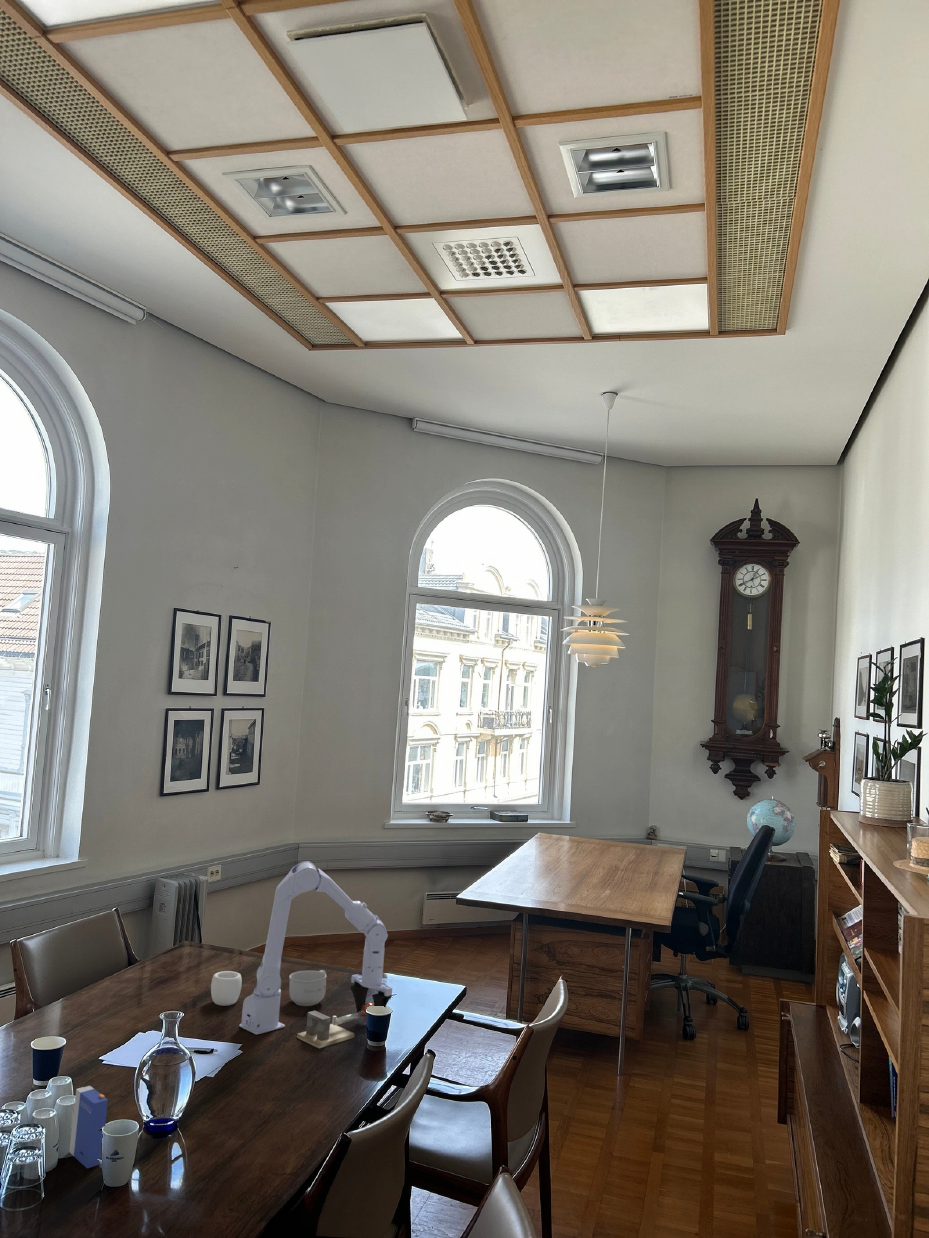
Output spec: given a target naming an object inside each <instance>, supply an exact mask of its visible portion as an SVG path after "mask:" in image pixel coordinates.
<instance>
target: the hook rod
mask: <svg viewBox="0 0 929 1238" xmlns="http://www.w3.org/2000/svg"><path fill="white" fill-rule="evenodd" d="M369 1006H374V1002H367V1003H365V1004H364V1005H363V1006H362V1008H361V1011H360V1012H357V1011H356V1012H353V1013H349V1014H346V1015H343V1016H339V1017H338V1016H337V1015H332V1019H331V1024H333V1025H337V1026H338V1025H341V1024H344V1023H347V1022H352V1021H355V1020H358V1019H361V1018H362V1020H363V1021H364V1022H366V1009H367V1007H369Z"/></svg>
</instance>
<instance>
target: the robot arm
mask: <svg viewBox="0 0 929 1238" xmlns="http://www.w3.org/2000/svg"><path fill="white" fill-rule="evenodd" d="M313 890H315V892H318V893H326V894H327V895H328V896H329V897H330V898H331V899H332V900H334V902H336V903H337V904H338V905H339V907H341V908H342V909H343V910H344V917H345V918H346V919H347V921H349V922H350V923H351V924H352V925H353V926H354V928H356V929H357V930H358V931H359V932H360V933H363V934H364V936H365V938H364V939H365V941H364V948H363V957H362V968H361V970H362V971H361V974H358V973H357V974H352V975H351V980H350V983H351V984H352V983H353V985H350V990H351V994H352V995H353V998H354V1002H355V1009H356V1012H360V1011H361V1008H362V1006H363V1005H364V1004H366V999H367V997H368V996H367V994H368V992H369V989H370V990H372V991H375V992H376V993H374V994H372V995H371V997H372V1001H373V1003H374V1006H384V1007H385V1008H386V1007H387V1004H388V1003H389V1001H390V999H391V998H392V996H393V987H391V986H390V985H388V984H387V983H385V979H384V978H383V975H384V973H383V972H384V959H385V951H386V950H385V945H386V944H385V943H386V941H387V939H388V937H389V934H388V932H387V931H388V930H387V928H386V926H385V924H384V923H383V921H382V919H380V918H379V916H378V915H377V914H374V913H373V912H371V910H369V909H368V908H367V907H368V904H366V903H365V902H364V901H362V902H361V901H360V900H352V898H350V897H349V896H348V894H347V893H345V891H344V890H342V888H341V887H340V886H339V885H338V884H337V883H336V882H335V881H334V880H333V879H332V878H331V877H330V876H329V875H328V874H326V873H325V872H324V871H323V870H322V869H320V868H318V867H317V866H316V865H315V864H314V863H312V862H310V861H306V860H305V861H302V862H300V863H298V864H296V865H294V866H293V867H291V869H290V871H289V872H288V873H287V874H286V875H285V877H284V878H283V879H282V880H281V881H280V883H278V885H276V888H275V893H274V898H273V903H272V904H273V905H272V908H271V909H272V910H271V915H270V920H269V927H268V931H267V932H268V933H267V937H266V943H265V949H264V953H263V956H262V960H261V964H260V965H259V966H258V968H257V970H256V980H257V981H256V986H255V988H254V989H253V993H252V994H250V995H248V996H247V997H245V998H244V1000H243V1004H242V1009H241V1010H242V1013H241V1023H240V1024H239V1027H240V1028H242V1029H244V1030H246V1031H248V1032H250V1033H253V1034H254V1035H260V1034H264V1033H268V1032H271V1031H275V1030H278V1029H282V1028H285V1027H286V1024H284V1023H282V1022H280V1021H279V1019H280V1006H281V995H282V989H281V986H282V979H281V976H280V975H281V963H282V955H283V948H284V945H285V940H286V939H285V938H286V933H287V927H288V923H289V922H288V920H289V915H290V910H291V903H292V900H293V899H294V898H296V897H298V896H299V895H300V894H304V893H308V892H311V891H313Z"/></svg>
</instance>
